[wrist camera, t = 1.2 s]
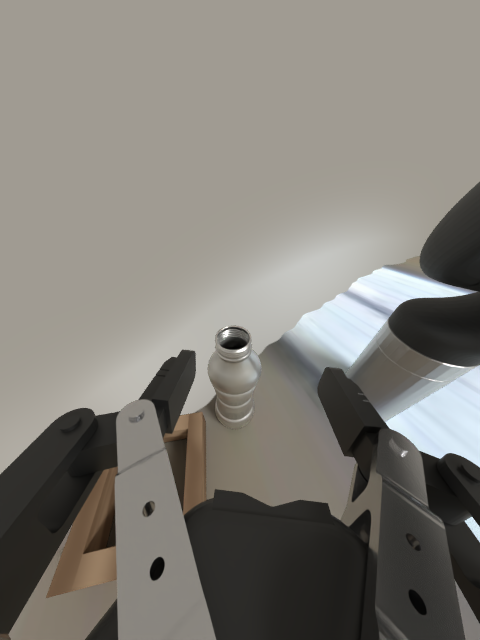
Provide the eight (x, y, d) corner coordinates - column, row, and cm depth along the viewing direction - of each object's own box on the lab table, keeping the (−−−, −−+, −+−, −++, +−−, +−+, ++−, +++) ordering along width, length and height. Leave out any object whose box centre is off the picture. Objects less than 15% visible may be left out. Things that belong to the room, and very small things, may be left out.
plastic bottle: (219, 393, 33) (207, 315, 20) (254, 396, 33) (265, 318, 20) (213, 431, 29) (191, 361, 15) (253, 434, 28) (267, 366, 15)
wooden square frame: (205, 421, 30) (202, 411, 27) (206, 550, 20) (201, 557, 17) (122, 435, 28) (108, 427, 25) (77, 583, 18) (45, 598, 15)
